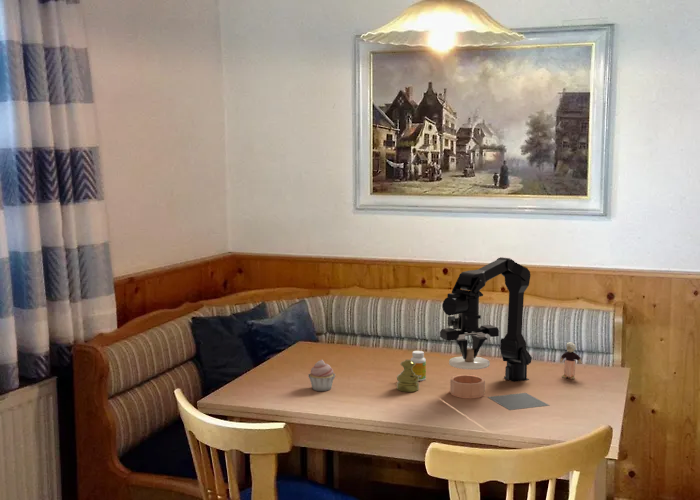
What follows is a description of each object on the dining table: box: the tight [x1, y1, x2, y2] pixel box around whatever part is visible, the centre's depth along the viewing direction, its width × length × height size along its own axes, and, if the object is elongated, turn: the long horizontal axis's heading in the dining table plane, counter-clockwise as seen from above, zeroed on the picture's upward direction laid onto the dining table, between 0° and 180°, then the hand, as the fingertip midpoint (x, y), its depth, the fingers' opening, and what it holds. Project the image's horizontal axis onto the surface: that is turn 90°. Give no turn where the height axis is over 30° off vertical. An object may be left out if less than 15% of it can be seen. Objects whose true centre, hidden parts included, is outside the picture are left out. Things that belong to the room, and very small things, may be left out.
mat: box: [487, 392, 550, 411], centre depth 246 cm, size 14×14×1 cm
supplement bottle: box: [410, 350, 427, 382], centre depth 273 cm, size 5×5×10 cm
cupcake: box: [307, 359, 336, 392], centre depth 262 cm, size 9×9×10 cm
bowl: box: [449, 374, 486, 399], centre depth 255 cm, size 11×11×5 cm
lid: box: [448, 347, 491, 370], centre depth 253 cm, size 13×13×5 cm
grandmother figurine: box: [559, 341, 583, 380], centre depth 273 cm, size 8×4×13 cm, turn 68°
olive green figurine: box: [396, 359, 420, 393], centre depth 261 cm, size 7×7×10 cm
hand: (469, 358), depth 253 cm, fingers closed on lid, 3 cm apart
